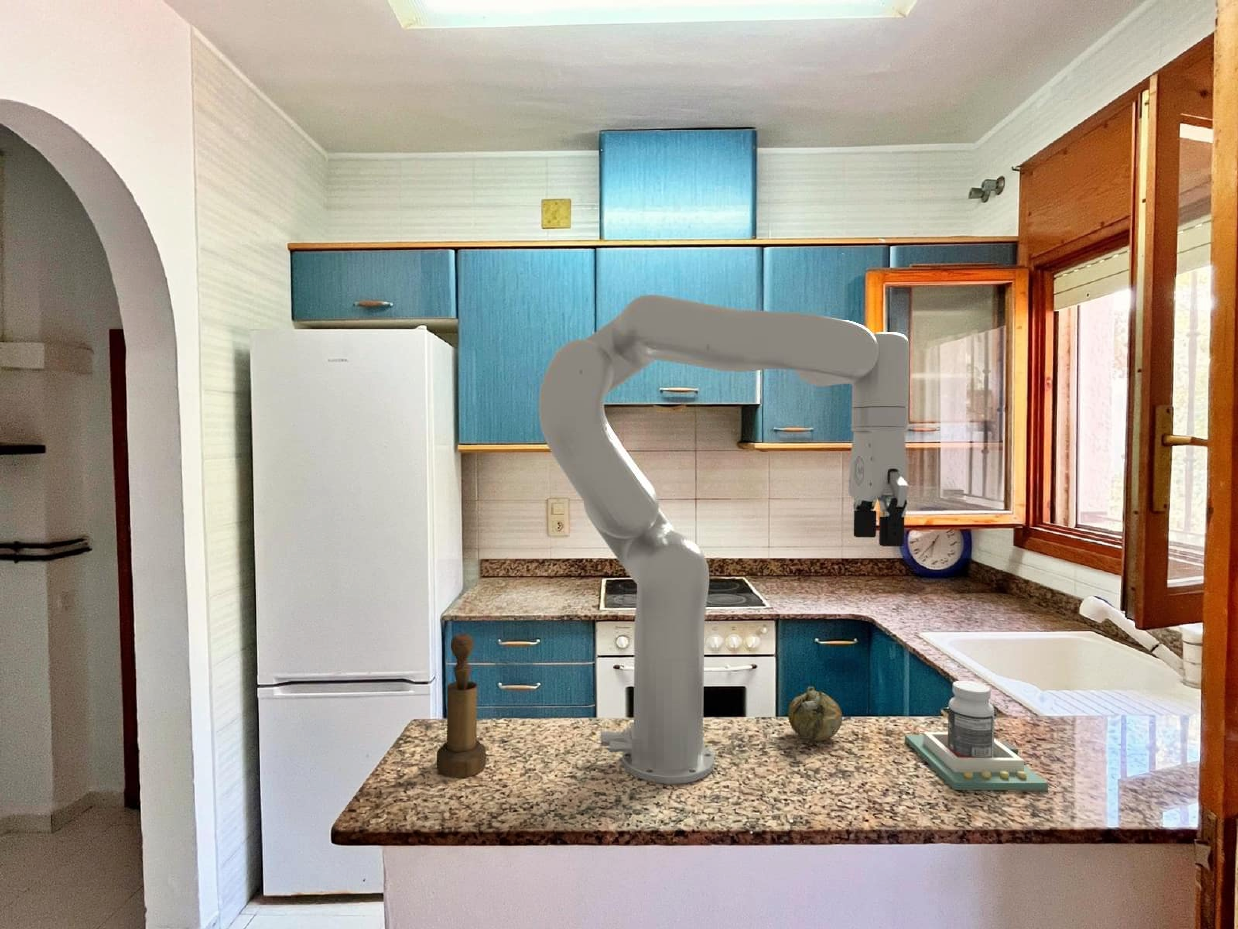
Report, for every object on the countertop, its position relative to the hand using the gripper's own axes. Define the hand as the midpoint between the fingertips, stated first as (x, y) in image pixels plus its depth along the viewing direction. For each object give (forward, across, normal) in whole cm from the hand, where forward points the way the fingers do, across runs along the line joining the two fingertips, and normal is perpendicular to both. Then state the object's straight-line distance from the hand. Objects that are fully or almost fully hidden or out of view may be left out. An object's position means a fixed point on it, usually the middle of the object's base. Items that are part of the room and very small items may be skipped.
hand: (877, 541), depth 100 cm
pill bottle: (+30, +4, +12) cm, 32 cm away
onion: (+31, -5, -7) cm, 32 cm away
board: (+30, +4, +12) cm, 33 cm away
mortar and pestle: (+31, +5, -58) cm, 66 cm away
